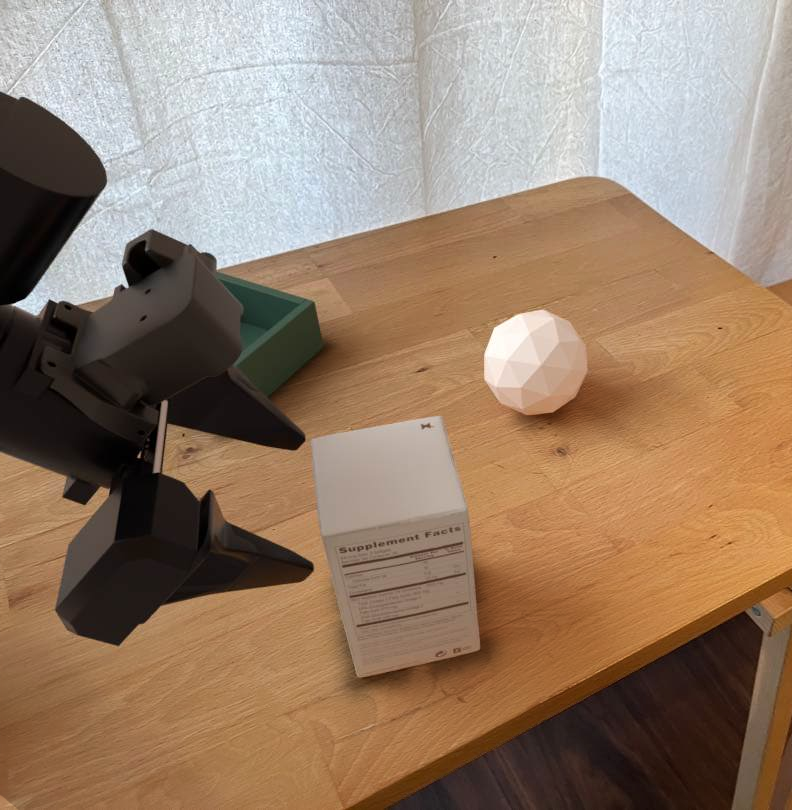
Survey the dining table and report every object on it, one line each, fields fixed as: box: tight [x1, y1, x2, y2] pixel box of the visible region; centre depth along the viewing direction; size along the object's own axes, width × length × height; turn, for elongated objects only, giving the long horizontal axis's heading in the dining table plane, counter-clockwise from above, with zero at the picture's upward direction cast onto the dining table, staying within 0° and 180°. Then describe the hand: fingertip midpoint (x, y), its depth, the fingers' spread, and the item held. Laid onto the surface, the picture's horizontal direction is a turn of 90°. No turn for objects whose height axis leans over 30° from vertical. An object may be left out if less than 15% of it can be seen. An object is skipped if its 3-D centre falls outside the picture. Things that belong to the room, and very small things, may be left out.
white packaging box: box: [310, 415, 481, 678], centre depth 49 cm, size 7×7×13 cm
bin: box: [216, 270, 325, 398], centre depth 70 cm, size 12×12×5 cm
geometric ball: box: [483, 309, 589, 416], centre depth 66 cm, size 8×8×8 cm
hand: (305, 503), depth 45 cm, fingers open, 9 cm apart
